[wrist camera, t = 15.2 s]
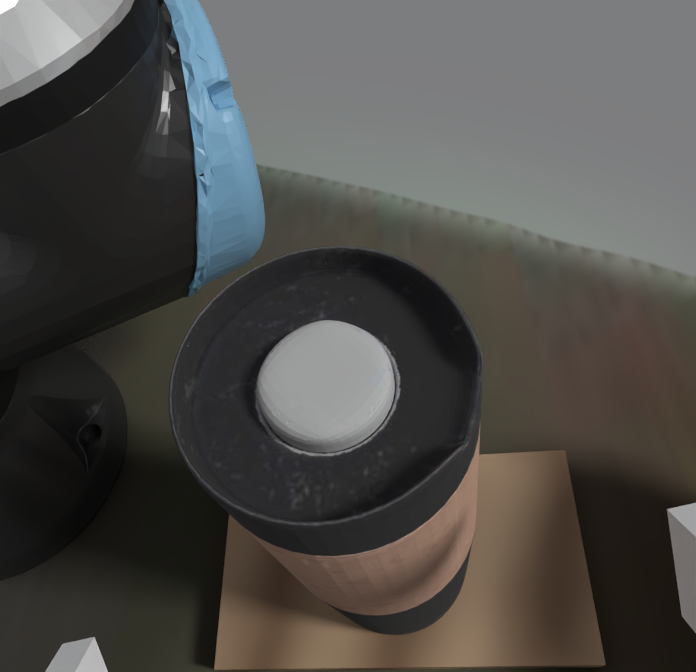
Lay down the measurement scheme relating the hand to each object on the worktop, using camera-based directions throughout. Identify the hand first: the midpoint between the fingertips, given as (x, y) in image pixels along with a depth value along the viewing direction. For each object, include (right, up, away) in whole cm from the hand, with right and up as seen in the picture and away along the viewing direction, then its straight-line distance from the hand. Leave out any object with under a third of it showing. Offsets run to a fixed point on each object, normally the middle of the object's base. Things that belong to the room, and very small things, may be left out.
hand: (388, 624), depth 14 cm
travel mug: (+1, -5, +18) cm, 18 cm away
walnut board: (+2, -5, +19) cm, 20 cm away
